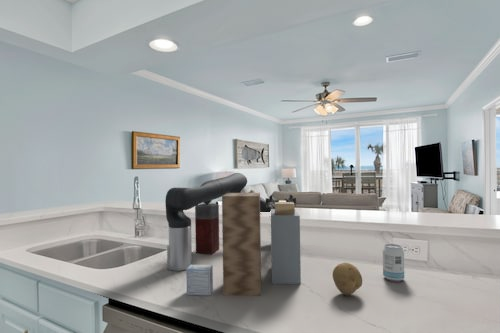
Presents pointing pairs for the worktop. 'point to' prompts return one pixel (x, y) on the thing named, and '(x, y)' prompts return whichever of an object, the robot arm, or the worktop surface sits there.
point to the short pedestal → (285, 248)
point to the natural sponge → (347, 278)
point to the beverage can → (393, 262)
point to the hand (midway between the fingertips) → (281, 196)
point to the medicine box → (199, 279)
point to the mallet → (284, 208)
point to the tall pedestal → (241, 244)
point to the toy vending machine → (207, 228)
